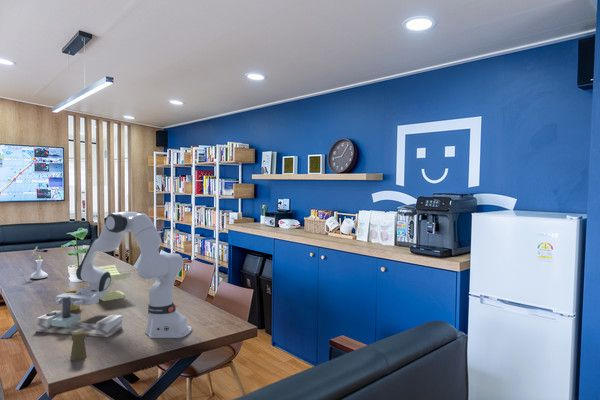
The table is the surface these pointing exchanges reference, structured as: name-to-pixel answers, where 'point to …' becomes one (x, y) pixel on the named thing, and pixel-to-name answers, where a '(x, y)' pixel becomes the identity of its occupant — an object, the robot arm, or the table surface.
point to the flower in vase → (38, 268)
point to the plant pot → (72, 304)
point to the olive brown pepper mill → (78, 346)
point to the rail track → (72, 330)
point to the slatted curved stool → (114, 277)
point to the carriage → (66, 315)
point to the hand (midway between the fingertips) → (65, 303)
